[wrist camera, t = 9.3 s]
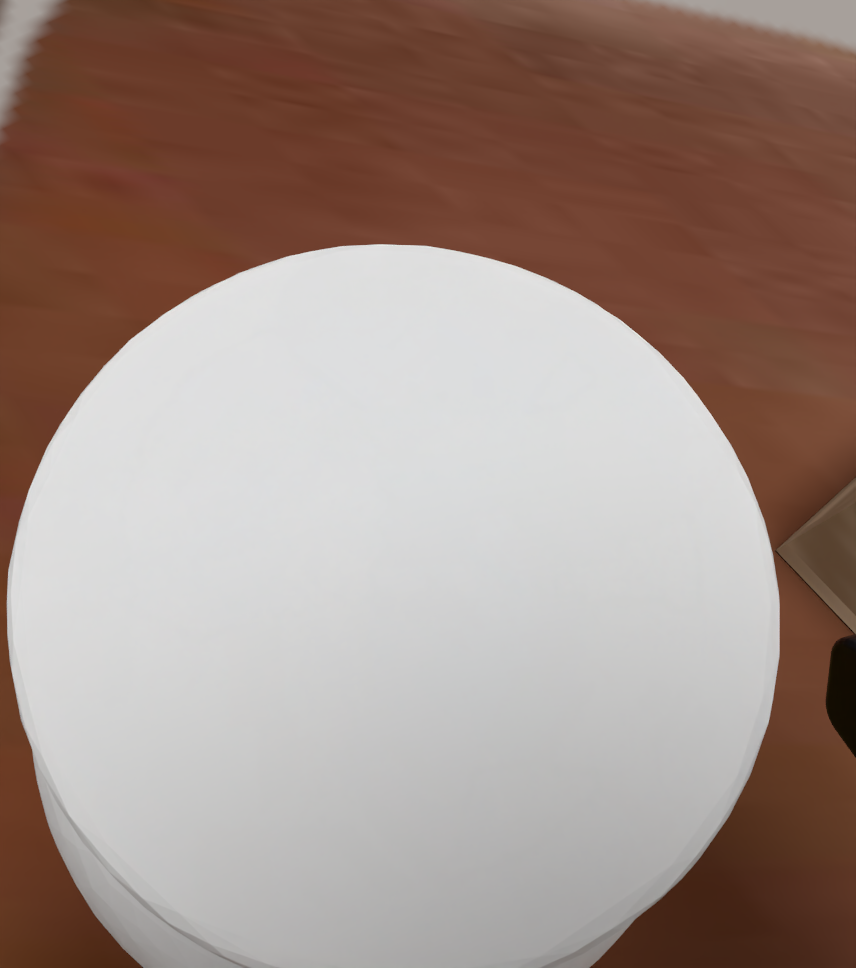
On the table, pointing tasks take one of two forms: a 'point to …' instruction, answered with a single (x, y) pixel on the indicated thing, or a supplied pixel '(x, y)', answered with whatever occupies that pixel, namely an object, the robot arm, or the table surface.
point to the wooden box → (829, 553)
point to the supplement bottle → (388, 622)
